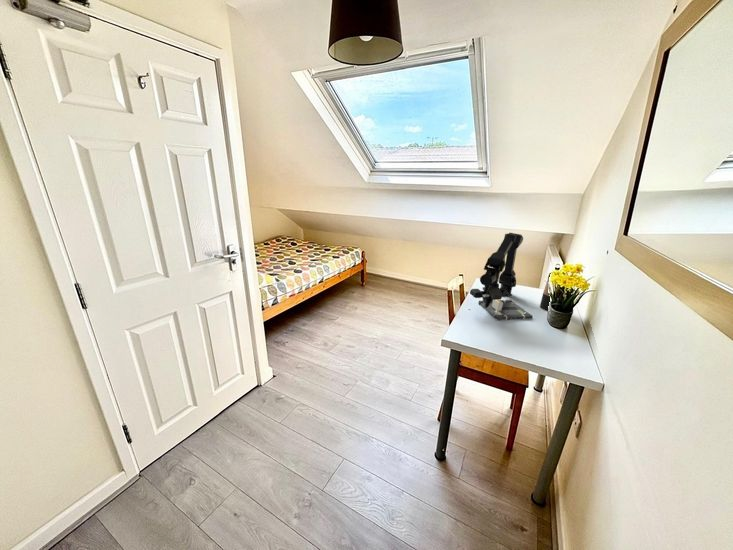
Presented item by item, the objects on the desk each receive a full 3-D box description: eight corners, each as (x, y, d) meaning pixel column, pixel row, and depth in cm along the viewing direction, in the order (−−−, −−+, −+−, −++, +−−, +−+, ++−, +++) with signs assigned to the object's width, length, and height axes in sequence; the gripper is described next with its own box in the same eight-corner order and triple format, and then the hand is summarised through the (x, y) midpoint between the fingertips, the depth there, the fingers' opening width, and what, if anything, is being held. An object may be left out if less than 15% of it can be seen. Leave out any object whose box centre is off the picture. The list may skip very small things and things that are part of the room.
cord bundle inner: (478, 303, 167) (478, 300, 166) (510, 302, 170) (510, 299, 169) (480, 305, 165) (480, 301, 164) (512, 304, 168) (513, 300, 167)
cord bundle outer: (495, 318, 151) (495, 315, 151) (529, 316, 155) (530, 313, 154) (497, 320, 149) (498, 317, 149) (532, 318, 153) (533, 315, 152)
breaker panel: (480, 305, 164) (481, 302, 164) (512, 304, 168) (513, 301, 167) (494, 318, 151) (495, 315, 151) (529, 316, 155) (530, 313, 154)
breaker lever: (491, 306, 160) (493, 297, 158) (495, 306, 161) (497, 297, 159) (497, 310, 156) (499, 302, 154) (501, 310, 156) (503, 301, 154)
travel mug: (550, 305, 168) (561, 273, 161) (557, 312, 161) (568, 278, 154) (536, 304, 169) (546, 271, 162) (542, 310, 162) (553, 277, 155)
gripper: (483, 287, 142) (477, 315, 148) (518, 286, 145) (511, 314, 151) (472, 278, 152) (466, 305, 158) (504, 277, 155) (498, 304, 161)
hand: (485, 307), depth 157 cm, fingers closed
